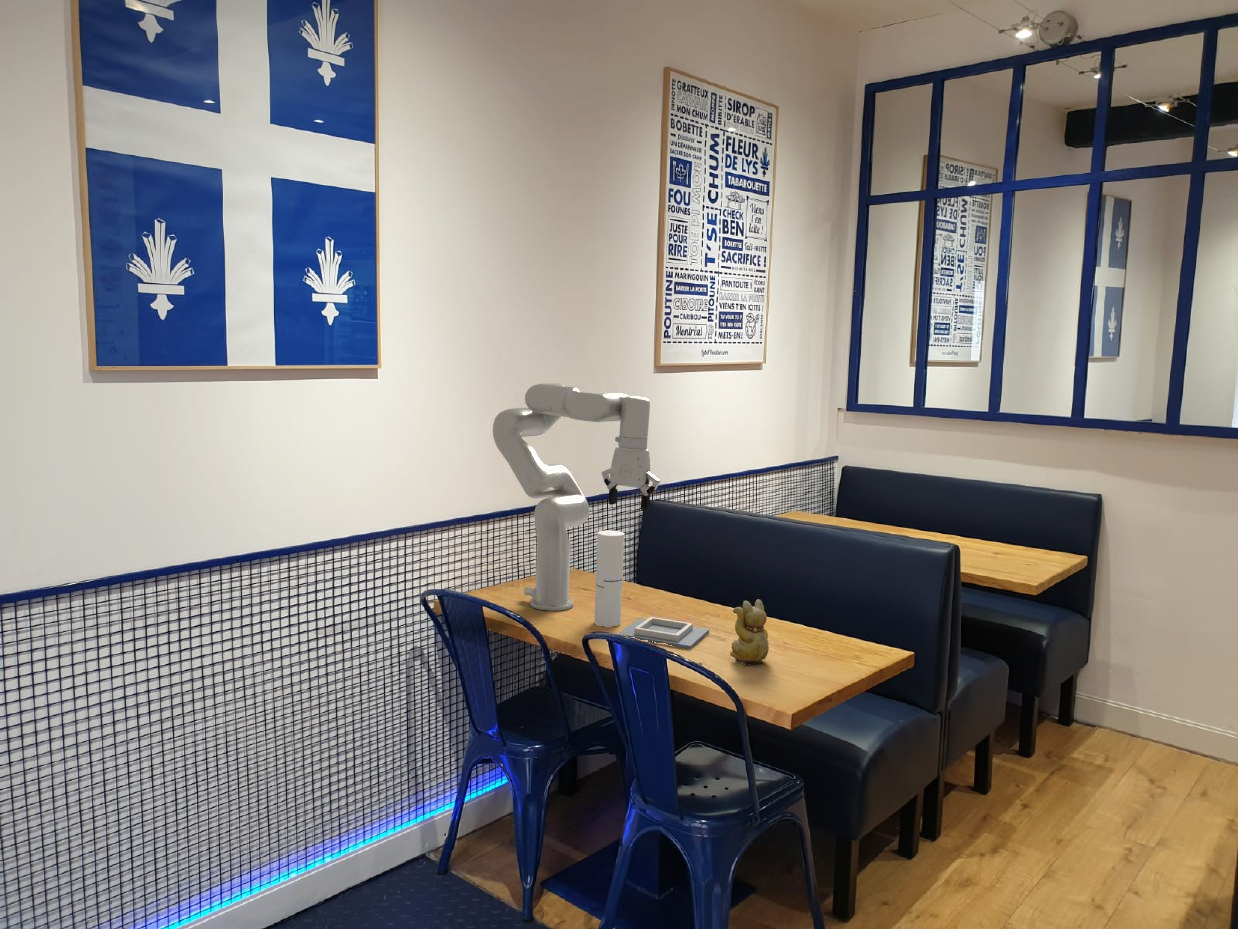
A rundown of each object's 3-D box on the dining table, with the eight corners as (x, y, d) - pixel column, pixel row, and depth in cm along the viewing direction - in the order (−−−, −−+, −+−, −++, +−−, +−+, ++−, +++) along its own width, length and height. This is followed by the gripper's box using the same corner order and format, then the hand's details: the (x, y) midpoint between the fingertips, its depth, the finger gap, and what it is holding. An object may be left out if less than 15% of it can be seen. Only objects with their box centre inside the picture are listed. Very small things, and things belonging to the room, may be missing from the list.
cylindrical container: (617, 628, 251) (621, 536, 248) (591, 625, 253) (595, 534, 250) (622, 621, 258) (626, 531, 255) (597, 618, 260) (601, 529, 257)
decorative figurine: (752, 653, 235) (755, 595, 233) (777, 662, 229) (781, 602, 227) (725, 660, 229) (728, 600, 227) (750, 670, 223) (753, 608, 221)
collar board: (616, 637, 244) (617, 628, 243) (639, 621, 258) (639, 612, 258) (690, 649, 236) (690, 640, 236) (709, 632, 251) (709, 623, 251)
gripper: (597, 440, 250) (593, 503, 252) (655, 448, 241) (650, 513, 244) (612, 438, 256) (607, 500, 259) (668, 446, 248) (663, 510, 250)
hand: (628, 506), depth 251 cm, fingers open, 9 cm apart
